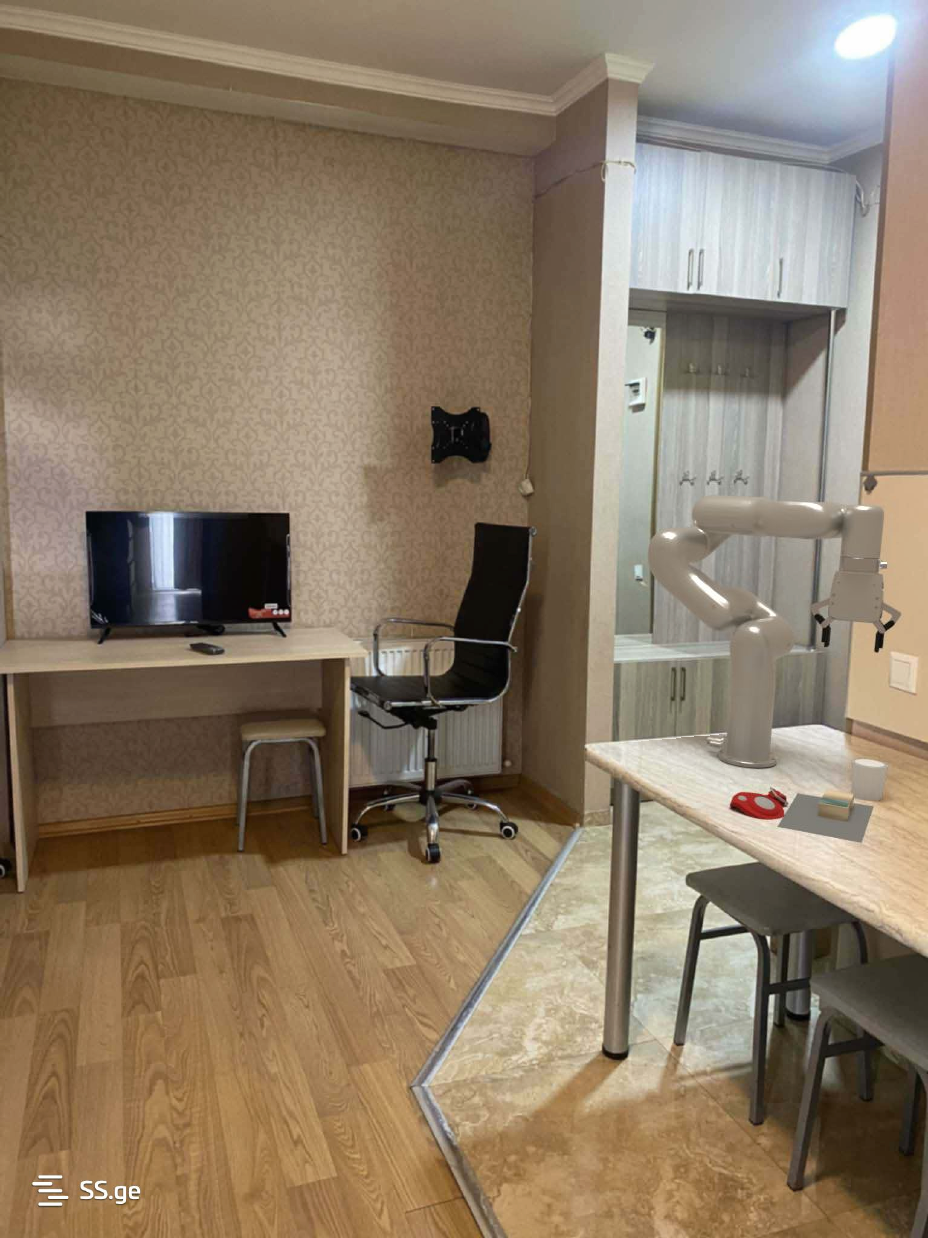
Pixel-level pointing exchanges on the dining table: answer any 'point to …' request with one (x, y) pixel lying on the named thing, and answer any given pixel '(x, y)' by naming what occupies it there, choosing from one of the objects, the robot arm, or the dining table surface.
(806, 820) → the rubber mat
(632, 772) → the dining table surface
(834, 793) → the birch tile
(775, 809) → the tracker holder
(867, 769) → the white cylinder
